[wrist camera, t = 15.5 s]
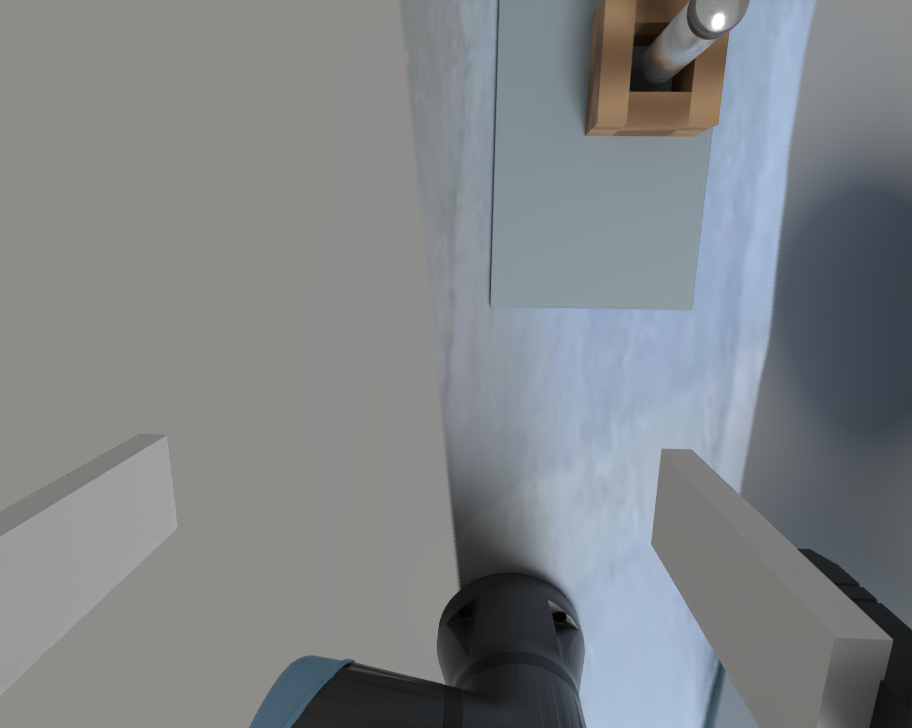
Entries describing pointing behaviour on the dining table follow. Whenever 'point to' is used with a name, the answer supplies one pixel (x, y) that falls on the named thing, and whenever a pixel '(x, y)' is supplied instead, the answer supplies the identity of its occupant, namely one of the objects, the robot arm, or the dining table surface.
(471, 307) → the dining table surface
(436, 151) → the dining table surface
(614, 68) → the wooden block with hole
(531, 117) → the mat
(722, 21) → the metal cylinder rod
